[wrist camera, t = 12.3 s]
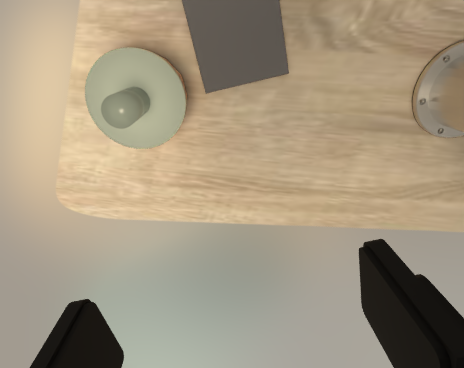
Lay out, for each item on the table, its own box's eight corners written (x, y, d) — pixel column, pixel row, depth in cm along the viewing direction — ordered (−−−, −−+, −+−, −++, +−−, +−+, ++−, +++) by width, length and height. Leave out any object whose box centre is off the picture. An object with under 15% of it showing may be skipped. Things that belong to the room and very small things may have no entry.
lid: (169, 36, 31) (156, 32, 24) (197, 134, 35) (192, 153, 29) (72, 61, 31) (33, 63, 25) (112, 154, 36) (88, 177, 29)
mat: (274, -28, 33) (275, -29, 32) (288, 73, 37) (288, 73, 37) (181, -3, 34) (181, -4, 33) (205, 92, 38) (205, 93, 38)
